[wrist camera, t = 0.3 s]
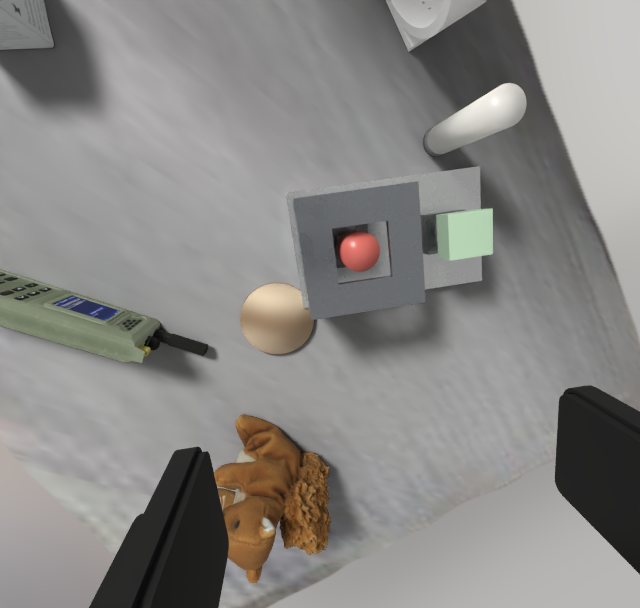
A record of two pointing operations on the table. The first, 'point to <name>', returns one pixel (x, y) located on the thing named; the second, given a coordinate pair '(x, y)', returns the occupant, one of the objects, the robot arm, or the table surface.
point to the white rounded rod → (477, 120)
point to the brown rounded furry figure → (272, 496)
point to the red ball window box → (380, 240)
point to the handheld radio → (82, 321)
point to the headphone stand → (427, 17)
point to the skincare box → (24, 25)
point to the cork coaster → (276, 319)
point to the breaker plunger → (358, 250)
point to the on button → (465, 234)
